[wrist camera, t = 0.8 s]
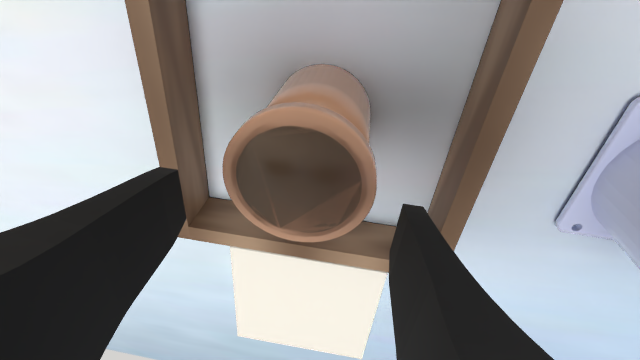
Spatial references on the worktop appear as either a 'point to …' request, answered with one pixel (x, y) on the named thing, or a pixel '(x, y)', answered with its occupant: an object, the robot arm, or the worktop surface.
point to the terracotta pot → (305, 158)
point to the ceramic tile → (304, 301)
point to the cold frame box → (367, 238)
